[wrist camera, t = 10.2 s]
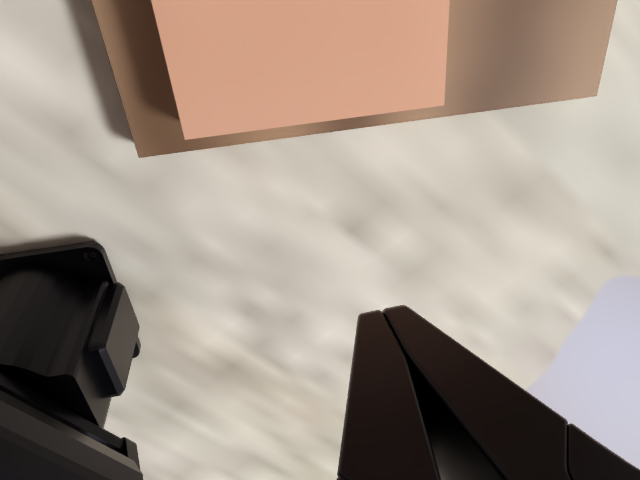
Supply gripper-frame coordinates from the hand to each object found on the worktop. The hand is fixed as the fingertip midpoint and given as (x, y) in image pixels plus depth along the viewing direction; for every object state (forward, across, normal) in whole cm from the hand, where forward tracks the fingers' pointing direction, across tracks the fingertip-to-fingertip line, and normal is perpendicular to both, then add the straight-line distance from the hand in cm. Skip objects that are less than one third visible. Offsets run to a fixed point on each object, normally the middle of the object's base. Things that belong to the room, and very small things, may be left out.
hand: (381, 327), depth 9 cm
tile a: (+11, -5, -4) cm, 13 cm away
